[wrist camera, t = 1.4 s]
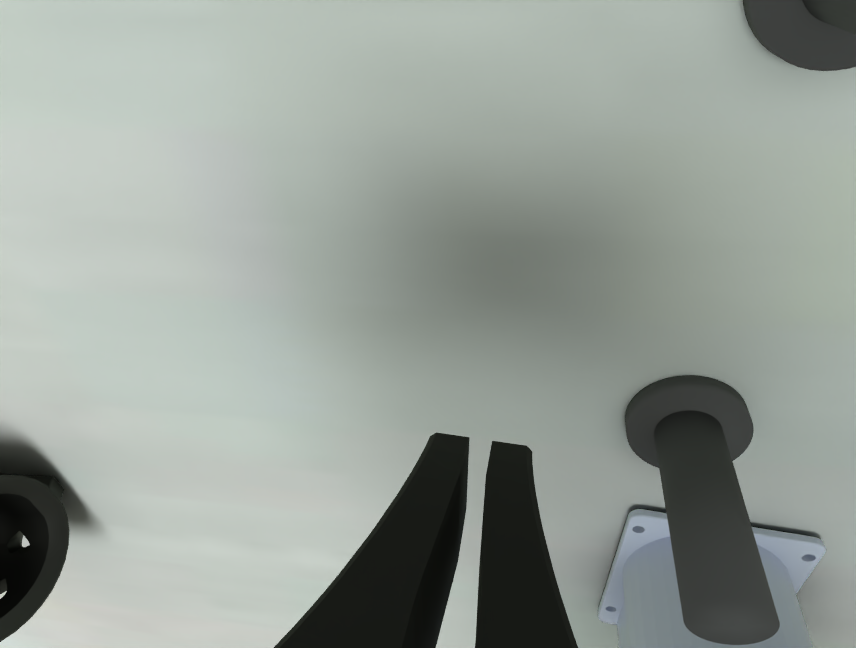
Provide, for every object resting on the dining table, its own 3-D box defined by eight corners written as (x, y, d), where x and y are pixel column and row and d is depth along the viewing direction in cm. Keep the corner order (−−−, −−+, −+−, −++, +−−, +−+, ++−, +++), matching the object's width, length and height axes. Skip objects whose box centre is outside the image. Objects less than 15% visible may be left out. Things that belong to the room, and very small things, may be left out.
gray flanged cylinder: (727, 464, 23) (788, 675, 16) (616, 448, 23) (631, 643, 17) (764, 384, 20) (852, 596, 14) (637, 368, 21) (665, 563, 15)
